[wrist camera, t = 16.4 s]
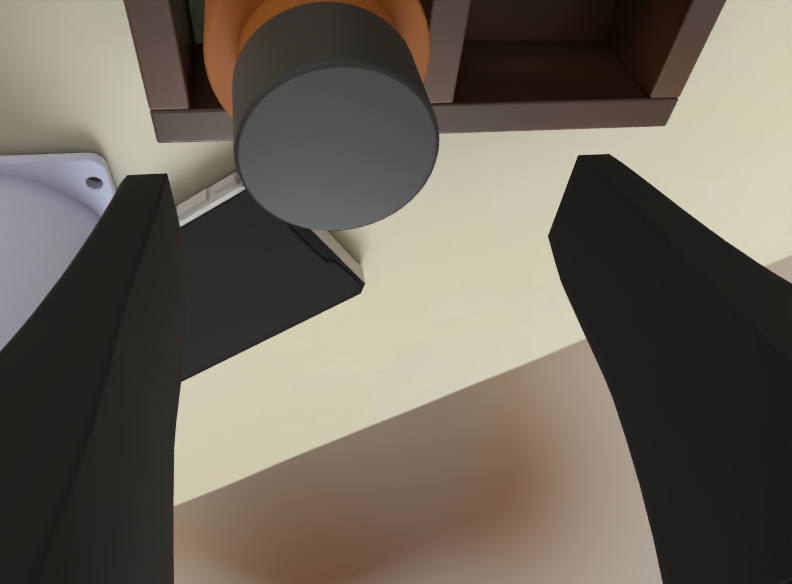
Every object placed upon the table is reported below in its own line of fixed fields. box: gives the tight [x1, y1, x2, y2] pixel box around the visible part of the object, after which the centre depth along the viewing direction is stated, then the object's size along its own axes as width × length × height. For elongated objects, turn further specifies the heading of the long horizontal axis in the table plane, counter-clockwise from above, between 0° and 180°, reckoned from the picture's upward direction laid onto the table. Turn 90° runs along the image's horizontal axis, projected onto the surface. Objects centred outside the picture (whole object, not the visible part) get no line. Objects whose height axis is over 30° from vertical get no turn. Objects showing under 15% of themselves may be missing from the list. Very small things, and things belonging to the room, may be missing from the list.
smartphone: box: [175, 171, 365, 382], centre depth 27 cm, size 8×1×15 cm
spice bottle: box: [203, 0, 439, 231], centre depth 13 cm, size 4×4×10 cm
